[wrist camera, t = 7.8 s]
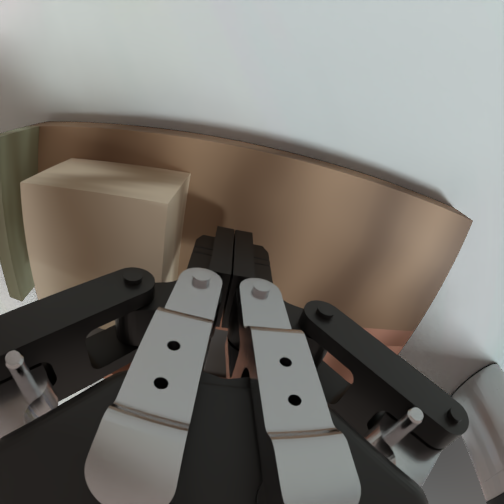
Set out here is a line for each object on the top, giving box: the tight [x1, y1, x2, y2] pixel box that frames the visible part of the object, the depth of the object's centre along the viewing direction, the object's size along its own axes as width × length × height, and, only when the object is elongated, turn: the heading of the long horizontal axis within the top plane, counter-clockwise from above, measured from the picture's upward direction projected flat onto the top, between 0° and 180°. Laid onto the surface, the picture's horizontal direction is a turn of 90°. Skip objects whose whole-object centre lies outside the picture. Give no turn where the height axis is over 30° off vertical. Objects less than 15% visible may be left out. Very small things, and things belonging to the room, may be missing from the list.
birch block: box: [20, 158, 191, 329], centre depth 11 cm, size 6×6×4 cm
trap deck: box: [0, 121, 473, 384], centre depth 15 cm, size 25×18×5 cm
